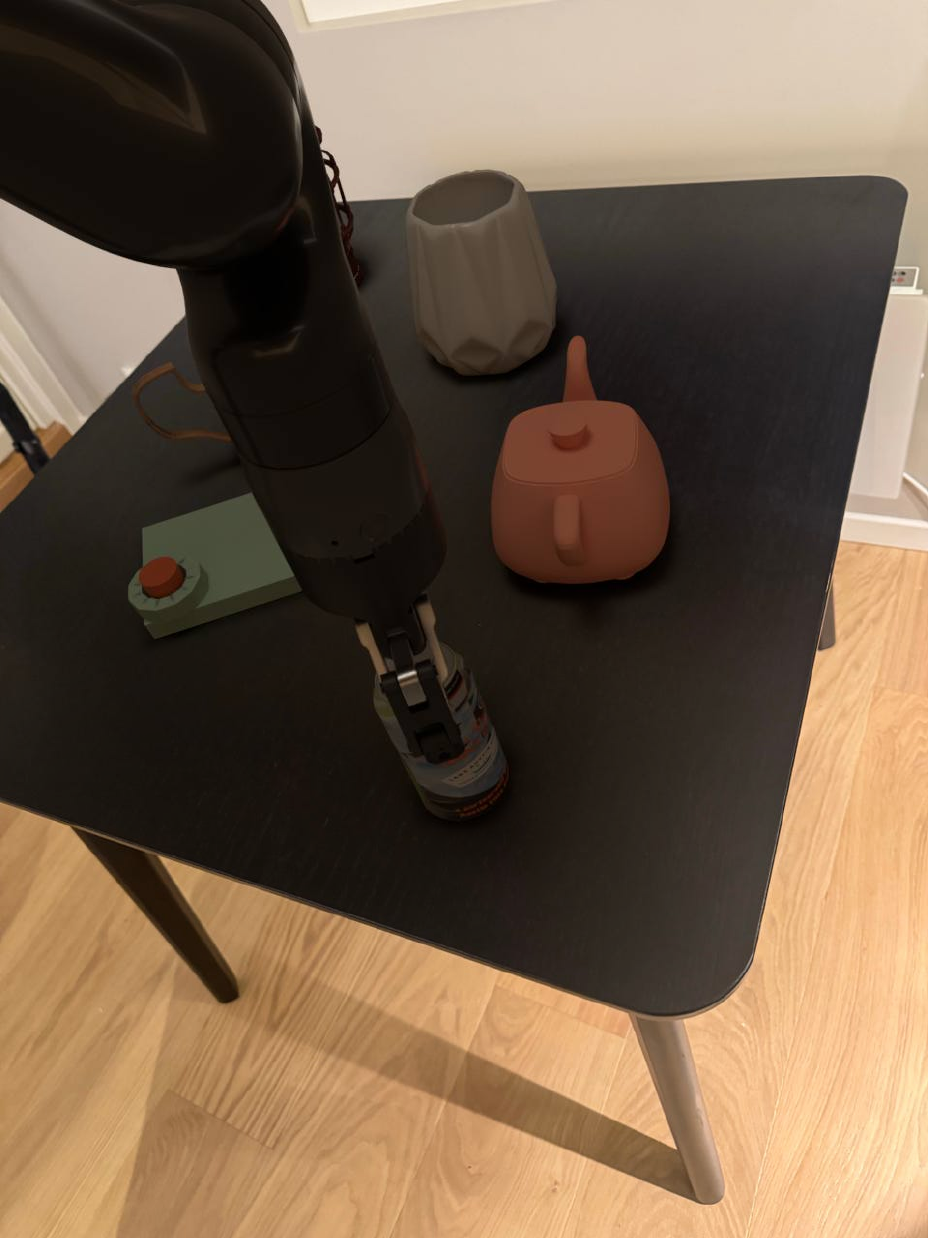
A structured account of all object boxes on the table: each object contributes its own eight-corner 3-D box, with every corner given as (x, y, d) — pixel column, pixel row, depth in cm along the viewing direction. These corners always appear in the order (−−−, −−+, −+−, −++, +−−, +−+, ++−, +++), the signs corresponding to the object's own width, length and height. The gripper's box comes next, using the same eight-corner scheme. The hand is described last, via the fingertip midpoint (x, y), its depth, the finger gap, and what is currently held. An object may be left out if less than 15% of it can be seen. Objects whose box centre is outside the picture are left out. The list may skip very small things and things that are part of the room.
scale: (148, 646, 76) (128, 619, 73) (145, 544, 84) (127, 517, 81) (318, 590, 76) (304, 561, 73) (299, 494, 84) (286, 465, 82)
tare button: (147, 604, 74) (138, 591, 73) (146, 576, 77) (138, 563, 75) (185, 591, 74) (177, 578, 73) (183, 564, 77) (175, 551, 75)
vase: (556, 383, 87) (533, 229, 75) (412, 393, 90) (369, 247, 79) (570, 297, 95) (551, 148, 84) (437, 309, 99) (402, 167, 88)
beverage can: (461, 849, 59) (415, 750, 50) (394, 778, 63) (341, 674, 54) (534, 786, 61) (503, 679, 52) (464, 720, 65) (424, 611, 56)
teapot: (669, 444, 78) (663, 319, 69) (673, 631, 66) (667, 508, 57) (513, 456, 82) (488, 337, 72) (489, 636, 69) (455, 520, 60)
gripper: (252, 427, 47) (349, 627, 59) (284, 632, 37) (391, 820, 50) (394, 380, 47) (461, 590, 59) (462, 573, 37) (525, 775, 50)
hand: (429, 695), depth 54 cm, fingers open, 8 cm apart
